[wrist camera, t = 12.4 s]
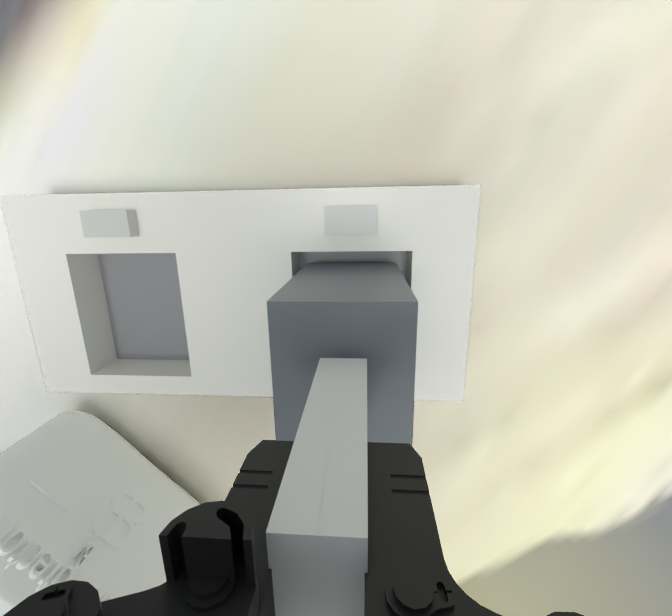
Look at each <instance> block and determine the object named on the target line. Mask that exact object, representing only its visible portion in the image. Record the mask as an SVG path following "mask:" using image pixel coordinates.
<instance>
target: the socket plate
mask: <svg viewBox="0 0 672 616" xmlns="http://www.w3.org/2000/svg"><path fill="white" fill-rule="evenodd" d="M480 191H481V185H440V186H396V187H352V188H308V189H263V190H219V191H175V192H131V193H87V194H42V195H0V204H1V208H2V212H3V216H4V220H5V224H6V228H7V233H8V237H9V241H10V245H11V249H12V253H13V257H14V261H15V265H16V269H17V273H18V277H19V281H20V285H21V290H22V294H23V298H24V302H25V306H26V310H27V314H28V318H29V322H30V326H31V330H32V334H33V338H34V342H35V347H36V351H37V355H38V359H39V363H40V367H41V371H42V375H43V379H44V383H45V387H46V391H47V392H75V393H119V394H163V395H206V396H250V397H273V388H272V373H271V358H270V344H269V329H268V315H267V301H268V300H269V299H270V298H271V297H272V296H273V295H274V294H275V293H276V292H277V291H278V290H279V289H281V288H282V287H283V286H284V285H285V284H286V283H287V282H288V281H289V280H290V279H291V278H292V277H293V276H294V275H296V274H297V273H298V272H299V271H300V270H301V269H302V268H303V267H304V266H305V265H306V264H307V263H396V264H397V266H398V268H399V269H400V271H401V273H402V275H403V276H404V278H405V280H406V281H407V283H408V285H409V287H410V288H411V290H412V292H413V294H414V295H415V297H416V299H417V300H418V319H417V343H416V366H415V390H414V400H425V401H463V400H464V388H465V375H466V363H467V351H468V338H469V326H470V314H471V302H472V289H473V277H474V265H475V252H476V240H477V228H478V216H479V203H480Z"/></svg>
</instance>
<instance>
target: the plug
mask: <svg viewBox="0 0 672 616" xmlns="http://www.w3.org/2000/svg"><path fill="white" fill-rule="evenodd" d="M267 315H268V329H269V344H270V358H271V373H272V388H273V402H274V417H275V432H276V440H279V441H294V440H295V437H296V434H297V430H298V427H299V424H300V421H301V418H302V414H303V411H304V408H305V405H306V402H307V398H308V395H309V392H310V389H311V386H312V382H313V379H314V376H315V373H316V369H317V366H318V363H319V360H320V358H360V359H367V442H381V443H409V444H410V445H411V446H412V437H413V413H414V390H415V366H416V343H417V319H418V300H417V299H416V297H415V295H414V294H413V292H412V290H411V288H410V287H409V285H408V283H407V281H406V280H405V278H404V276H403V275H402V273H401V271H400V269H399V268H398V266H397V264H396V263H307V264H306V265H305V266H304V267H303V268H302V269H301V270H300V271H299V272H298V273H297V274H296V275H294V276H293V277H292V278H291V279H290V280H289V281H288V282H287V283H286V284H285V285H284V286H283V287H282V288H281V289H279V290H278V291H277V292H276V293H275V294H274V295H273V296H272V297H271V298H270V299H269V300H268V301H267Z"/></svg>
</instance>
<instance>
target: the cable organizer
mask: <svg viewBox="0 0 672 616" xmlns="http://www.w3.org/2000/svg"><path fill="white" fill-rule="evenodd" d="M198 505H200V503H199V502H198V501H197V500H196V499H195V498H193V497H192V496H191V495H190V494H189V493H188V492H186V491H185V490H184V489H183V488H182V487H181V486H179V485H178V484H177V483H175V482H173V481H172V480H171V479H170V478H169V477H167V476H166V475H165V474H164V473H163V472H162V471H160V470H159V469H158V468H157V467H156V466H154V465H153V464H152V463H151V462H150V461H149V460H147V459H146V458H145V457H144V456H143V455H142V454H140V452H139V451H138V450H137V449H136V448H135V447H134V446H133V445H131V444H130V443H129V442H128V441H127V440H125V439H124V438H123V437H122V436H121V435H120V434H118V433H117V432H116V431H115V430H114V429H112V428H110V427H109V426H108V425H106V424H105V423H104V422H103V421H101V420H100V419H98V418H97V417H95V416H93V415H91V414H88V413H85V412H81V411H66V412H63V413H61V414H59V415H57V416H56V417H54V418H53V419H51V420H50V421H48V422H47V423H45V424H44V425H43V426H41V427H40V428H38V429H37V430H35V431H34V432H32V433H31V434H29V435H28V436H26V437H25V438H23V439H22V440H20V441H19V442H17V443H16V444H14V445H13V446H11V447H10V448H8V449H7V450H5V451H4V452H2V453H1V454H0V616H3V615H4V614H6V613H7V612H8V611H10V610H11V609H12V608H14V607H15V606H16V605H18V604H19V603H20V602H22V601H23V600H24V599H26V598H27V597H28V596H30V595H32V594H34V593H36V592H38V591H40V590H42V589H44V588H46V587H48V586H50V585H53V584H57V583H61V582H65V581H70V580H77V581H86V582H89V583H90V584H91V585H92V586H93V587H95V588H96V589H97V590H98V593H99V597H100V601H101V602H103V601H107V600H110V599H114V598H118V597H122V596H126V595H130V594H134V593H138V592H142V591H145V590H148V589H151V588H154V587H157V586H159V585H161V584H163V583H165V582H166V575H165V570H164V564H163V558H162V553H161V547H160V542H159V536H158V535H159V534H160V533H161V532H162V531H163V529H164V528H165V527H166V526H167V525H168V524H169V522H170V521H171V520H173V519H174V518H176V517H177V516H179V515H180V514H182V513H183V512H184V511H186V510H187V509H190V508H193V507H195V506H198Z"/></svg>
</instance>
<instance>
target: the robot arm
mask: <svg viewBox="0 0 672 616" xmlns="http://www.w3.org/2000/svg"><path fill="white" fill-rule="evenodd" d="M158 536H159V542H160V547H161V553H162V558H163V564H164V570H165V575H166V582H165V583H163V584H161V585H159V586H157V587H154V588H151V589H148V590H145V591H142V592H138V593H134V594H130V595H126V596H122V597H118V598H114V599H110V600H107V601H103V602H101V601H100V597H99V593H98V590H97V589H96V588H95V587H93V586H92V585H91V584H90V583H89V582H86V581H77V580H70V581H65V582H61V583H57V584H53V585H50V586H48V587H46V588H44V589H42V590H40V591H38V592H36V593H34V594H32V595H30V596H28V597H27V598H26V599H24V600H23V601H22V602H20V603H19V604H18V605H16V606H15V607H14V608H12V609H11V610H10V611H8V612H7V613H6V614H4V615H3V616H501V615H499V614H497V613H495V612H493V611H491V610H488V609H487V608H485V607H483V606H481V605H479V604H478V603H477V602H476V601H474V600H473V599H472V598H470V597H469V596H468V595H467V594H466V593H465V592H464V591H463V590H462V589H461V588H460V587H459V586H458V585H457V584H456V582H455V581H454V579H453V578H452V576H451V574H450V573H449V571H448V569H447V566H446V563H445V560H444V557H443V553H442V548H441V544H440V539H439V535H438V530H437V526H436V521H435V517H434V512H433V508H432V503H431V499H430V495H429V490H428V485H427V481H426V478H425V472H424V467H423V463H422V458H421V457H420V456H419V455H418V453H417V452H416V451H415V450H414V448H413V447H412V446H411V445H410V444H409V443H381V442H367V359H360V358H320V360H319V363H318V366H317V369H316V373H315V376H314V379H313V382H312V386H311V389H310V392H309V395H308V398H307V402H306V405H305V408H304V411H303V414H302V418H301V421H300V424H299V427H298V430H297V434H296V437H295V440H294V441H279V440H262V441H261V442H260V443H259V444H258V445H257V446H256V447H255V448H253V449H252V450H251V451H250V452H249V453H248V454H247V457H246V459H245V461H244V463H243V465H242V467H241V469H240V473H238V475H237V477H236V479H235V481H234V483H233V488H231V490H230V492H229V494H228V496H227V498H226V500H225V501H217V502H207V503H203V504H200V505H198V506H195V507H193V508H190V509H187V510H186V511H184V512H183V513H182V514H180V515H179V516H177V517H176V518H174V519H173V520H171V521H170V522H169V524H168V525H167V526H166V527H165V528H164V529H163V531H162V532H161V533H160V534H159V535H158ZM547 616H583V615H580V614H578V613H575V612H553V613H551V614H549V615H547Z"/></svg>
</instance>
